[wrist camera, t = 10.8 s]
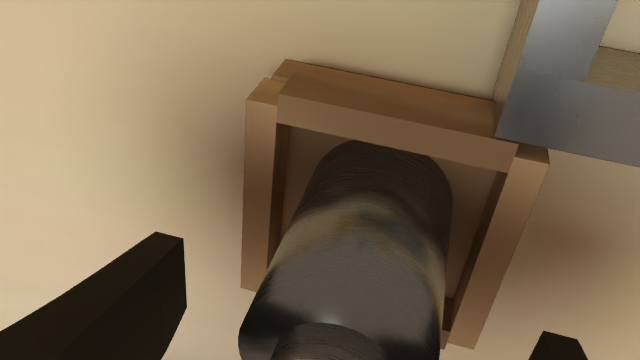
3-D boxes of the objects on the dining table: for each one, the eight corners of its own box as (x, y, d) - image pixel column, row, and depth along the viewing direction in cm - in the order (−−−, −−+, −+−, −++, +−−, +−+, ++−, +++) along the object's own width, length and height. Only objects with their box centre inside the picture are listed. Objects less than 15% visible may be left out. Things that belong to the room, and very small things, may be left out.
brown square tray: (472, 297, 16) (470, 356, 15) (265, 245, 17) (240, 295, 16) (545, 103, 13) (555, 151, 11) (278, 50, 14) (246, 86, 12)
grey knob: (472, 158, 13) (459, 437, 7) (431, 269, 15) (396, 551, 9) (321, 120, 13) (199, 354, 8) (302, 233, 15) (194, 482, 10)
